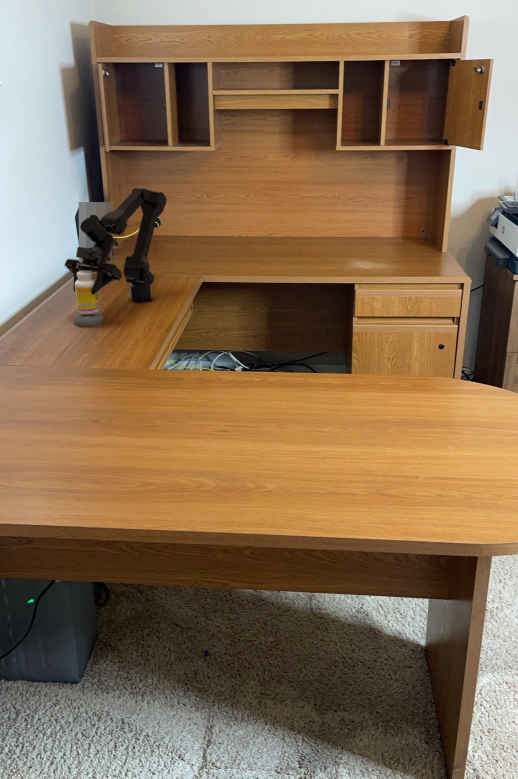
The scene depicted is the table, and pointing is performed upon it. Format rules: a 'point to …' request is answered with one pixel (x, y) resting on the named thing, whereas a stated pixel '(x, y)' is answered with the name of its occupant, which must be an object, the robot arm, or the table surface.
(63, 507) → the table surface
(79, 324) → the puck
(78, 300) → the supplement bottle
